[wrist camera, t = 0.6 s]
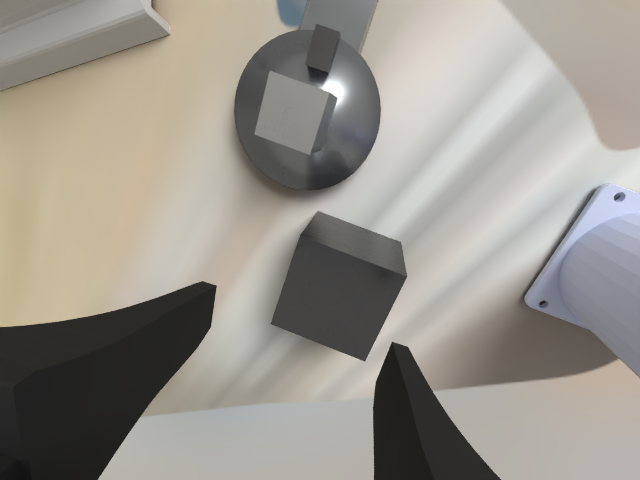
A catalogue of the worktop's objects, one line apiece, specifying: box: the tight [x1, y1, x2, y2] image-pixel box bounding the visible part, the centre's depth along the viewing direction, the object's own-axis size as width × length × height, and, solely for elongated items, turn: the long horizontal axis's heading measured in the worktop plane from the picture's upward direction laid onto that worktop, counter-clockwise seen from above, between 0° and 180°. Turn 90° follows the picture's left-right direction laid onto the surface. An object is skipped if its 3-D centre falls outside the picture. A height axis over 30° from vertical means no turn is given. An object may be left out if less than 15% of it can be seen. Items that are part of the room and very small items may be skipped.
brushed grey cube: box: [271, 211, 407, 361], centre depth 19 cm, size 6×6×5 cm
